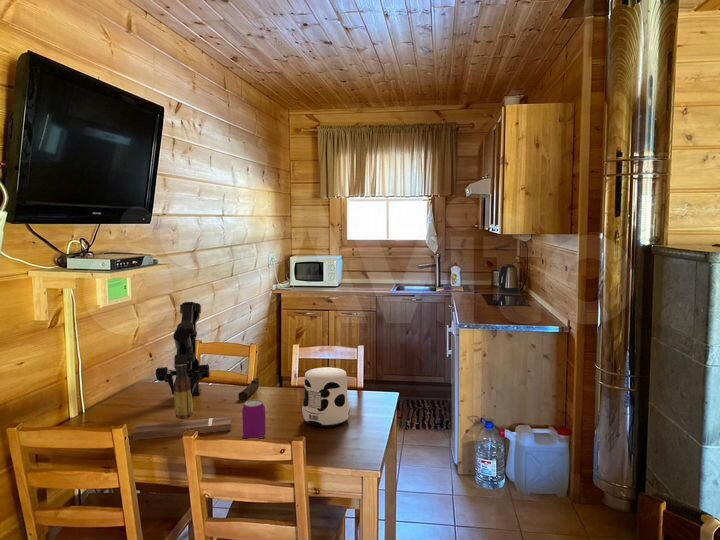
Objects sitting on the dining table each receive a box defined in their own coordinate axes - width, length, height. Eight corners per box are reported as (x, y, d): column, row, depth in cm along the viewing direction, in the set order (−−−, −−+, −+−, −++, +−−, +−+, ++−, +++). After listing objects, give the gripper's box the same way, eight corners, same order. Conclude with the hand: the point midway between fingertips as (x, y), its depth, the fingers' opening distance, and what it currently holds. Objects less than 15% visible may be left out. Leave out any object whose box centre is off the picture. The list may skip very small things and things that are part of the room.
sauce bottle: (188, 412, 195) (186, 360, 193) (196, 416, 191) (194, 363, 189) (171, 416, 191) (169, 363, 188) (179, 421, 186) (177, 367, 184)
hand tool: (247, 401, 213) (247, 390, 213) (238, 400, 214) (237, 389, 213) (264, 387, 232) (264, 377, 231) (255, 386, 232) (255, 376, 232)
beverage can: (269, 433, 180) (268, 399, 179) (260, 442, 173) (259, 407, 172) (248, 431, 182) (247, 397, 181) (239, 440, 175) (238, 405, 173)
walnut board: (137, 431, 182) (136, 424, 182) (231, 423, 189) (231, 416, 189) (133, 440, 176) (132, 432, 175) (230, 430, 182) (230, 423, 182)
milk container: (346, 411, 201) (345, 365, 199) (353, 428, 184) (352, 378, 182) (301, 414, 198) (300, 367, 196) (304, 432, 181) (303, 381, 179)
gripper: (155, 346, 190) (151, 385, 180) (208, 343, 194) (207, 381, 184) (159, 361, 198) (156, 399, 189) (210, 358, 202) (209, 395, 193)
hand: (182, 393), depth 188 cm, fingers closed on sauce bottle, 6 cm apart
